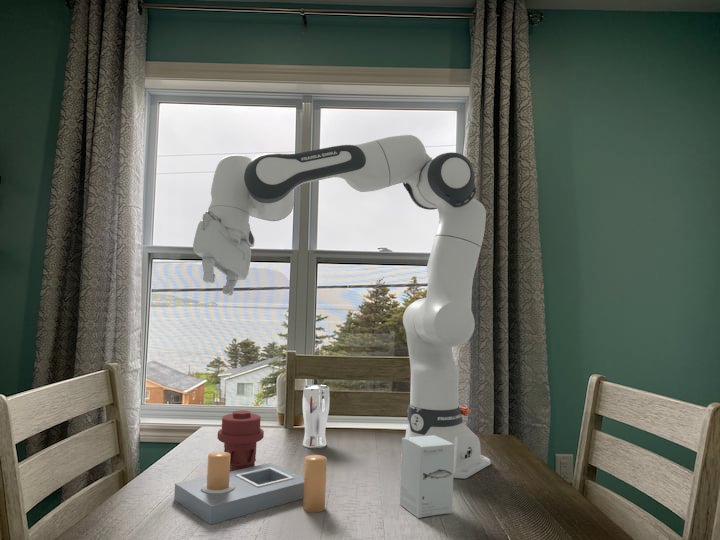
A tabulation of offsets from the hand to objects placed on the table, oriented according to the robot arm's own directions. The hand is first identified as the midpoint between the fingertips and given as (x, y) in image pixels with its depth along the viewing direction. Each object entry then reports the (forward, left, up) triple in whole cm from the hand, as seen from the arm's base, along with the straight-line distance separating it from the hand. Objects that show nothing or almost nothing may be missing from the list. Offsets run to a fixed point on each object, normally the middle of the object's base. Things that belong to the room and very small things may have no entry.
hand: (218, 288), depth 114 cm
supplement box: (-24, +37, -40) cm, 59 cm away
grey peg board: (0, +12, -40) cm, 41 cm away
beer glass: (-34, -9, -40) cm, 53 cm away
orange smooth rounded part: (-8, +24, -40) cm, 47 cm away
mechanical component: (-9, -4, -40) cm, 41 cm away
